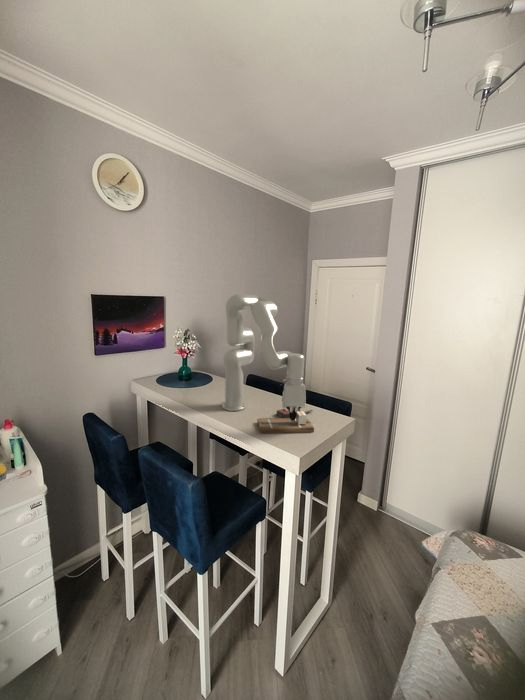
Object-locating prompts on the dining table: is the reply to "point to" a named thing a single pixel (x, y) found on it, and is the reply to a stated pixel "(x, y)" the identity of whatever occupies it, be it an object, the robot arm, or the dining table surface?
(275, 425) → the brown board with strips
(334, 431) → the dining table surface
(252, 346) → the robot arm
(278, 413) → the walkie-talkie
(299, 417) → the fader
